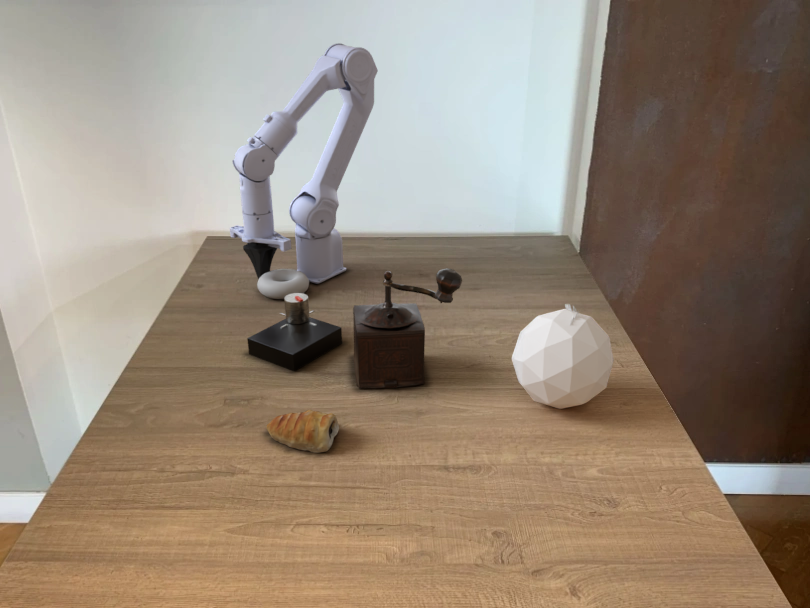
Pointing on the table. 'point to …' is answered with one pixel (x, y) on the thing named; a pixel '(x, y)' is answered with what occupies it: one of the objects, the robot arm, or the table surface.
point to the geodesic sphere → (563, 358)
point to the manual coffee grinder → (395, 335)
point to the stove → (294, 342)
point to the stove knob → (296, 308)
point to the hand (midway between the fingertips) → (263, 278)
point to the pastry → (305, 430)
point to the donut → (282, 283)
